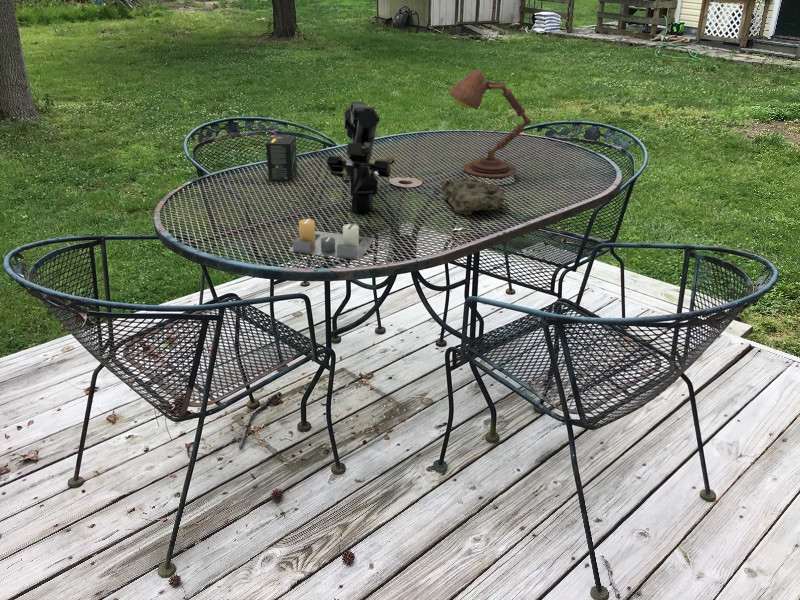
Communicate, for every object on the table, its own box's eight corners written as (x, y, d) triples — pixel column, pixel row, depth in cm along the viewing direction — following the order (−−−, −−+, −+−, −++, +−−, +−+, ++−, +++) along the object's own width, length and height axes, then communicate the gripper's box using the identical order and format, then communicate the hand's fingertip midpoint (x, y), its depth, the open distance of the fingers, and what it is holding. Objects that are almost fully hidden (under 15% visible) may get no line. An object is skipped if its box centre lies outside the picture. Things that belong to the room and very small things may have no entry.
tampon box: (274, 172, 250) (271, 134, 243) (297, 173, 250) (296, 135, 243) (267, 181, 240) (265, 142, 233) (292, 182, 240) (290, 143, 233)
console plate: (307, 233, 197) (307, 220, 195) (374, 241, 193) (374, 228, 191) (288, 254, 183) (287, 240, 181) (359, 263, 180) (359, 249, 178)
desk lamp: (438, 170, 258) (444, 65, 239) (514, 168, 264) (526, 65, 245) (451, 187, 240) (459, 74, 221) (533, 185, 246) (547, 74, 227)
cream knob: (345, 246, 186) (345, 222, 183) (360, 247, 185) (360, 224, 182) (341, 252, 182) (340, 228, 179) (356, 253, 182) (356, 229, 178)
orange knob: (303, 240, 189) (302, 217, 185) (317, 242, 188) (316, 219, 184) (297, 246, 185) (296, 223, 181) (312, 248, 184) (311, 224, 181)
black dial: (323, 246, 186) (323, 235, 185) (337, 247, 186) (336, 237, 184) (319, 251, 183) (318, 241, 182) (332, 253, 182) (332, 242, 181)
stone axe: (393, 151, 268) (397, 165, 240) (394, 163, 270) (398, 178, 242) (331, 156, 267) (328, 171, 239) (332, 168, 269) (329, 184, 241)
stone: (436, 196, 231) (438, 173, 227) (487, 193, 236) (489, 170, 232) (461, 221, 210) (462, 197, 206) (515, 217, 215) (518, 193, 211)
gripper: (327, 128, 190) (316, 175, 186) (389, 133, 186) (379, 181, 182) (336, 147, 200) (325, 193, 196) (394, 153, 197) (385, 199, 193)
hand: (353, 191), depth 191 cm, fingers closed
